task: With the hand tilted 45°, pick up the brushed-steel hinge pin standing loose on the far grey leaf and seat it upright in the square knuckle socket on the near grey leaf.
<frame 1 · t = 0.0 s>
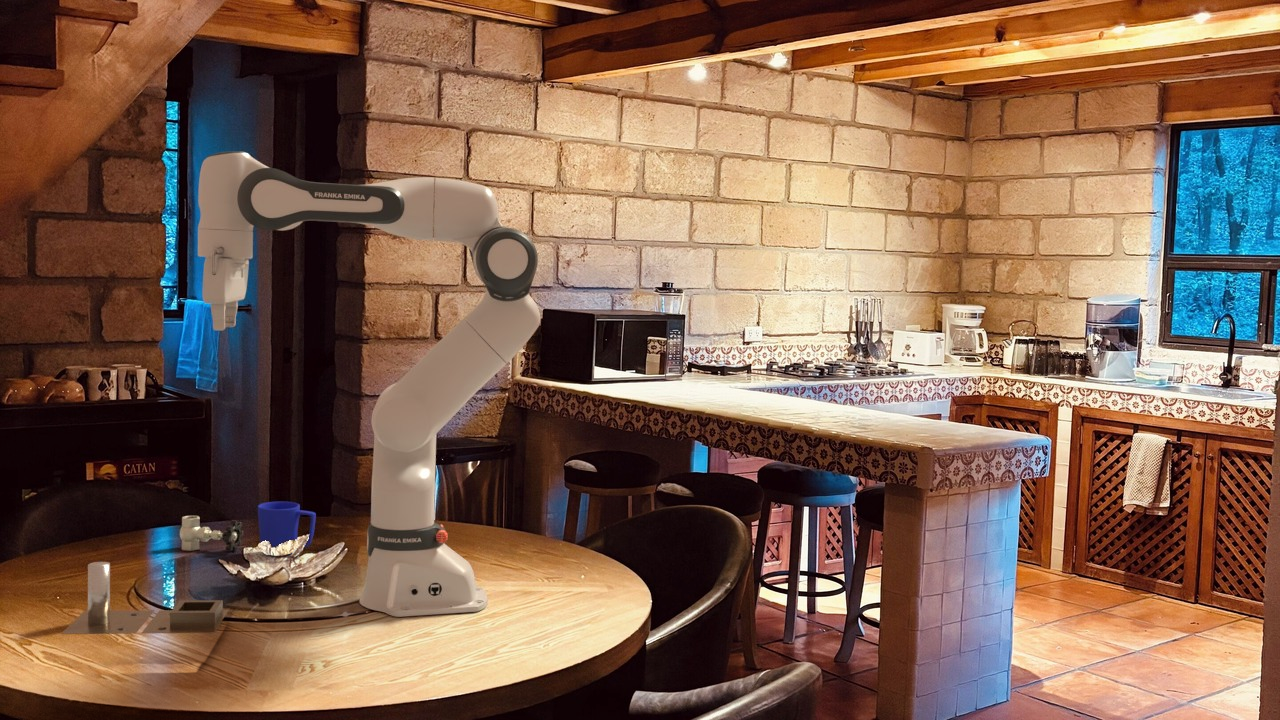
hand: (224, 328, 201), 48 cm above the table, tool pointing down, fingers open, 8 cm apart
valve: (208, 551, 241), on the table
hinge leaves: (148, 628, 190), on the table
mug: (286, 555, 240), on the table
pin: (98, 621, 189), point 1 cm above the table, touching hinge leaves
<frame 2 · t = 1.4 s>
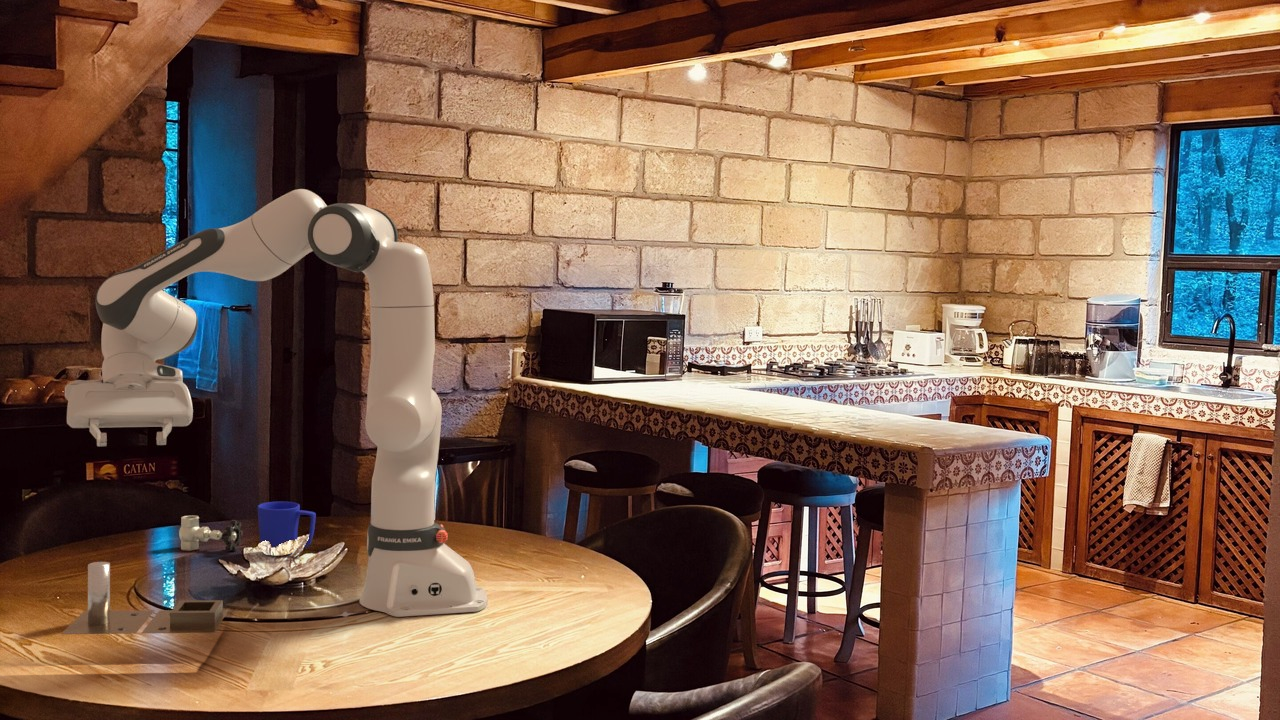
hand: (132, 443, 202), 28 cm above the table, tool tilted 45°, fingers open, 8 cm apart
nothing on the table moved.
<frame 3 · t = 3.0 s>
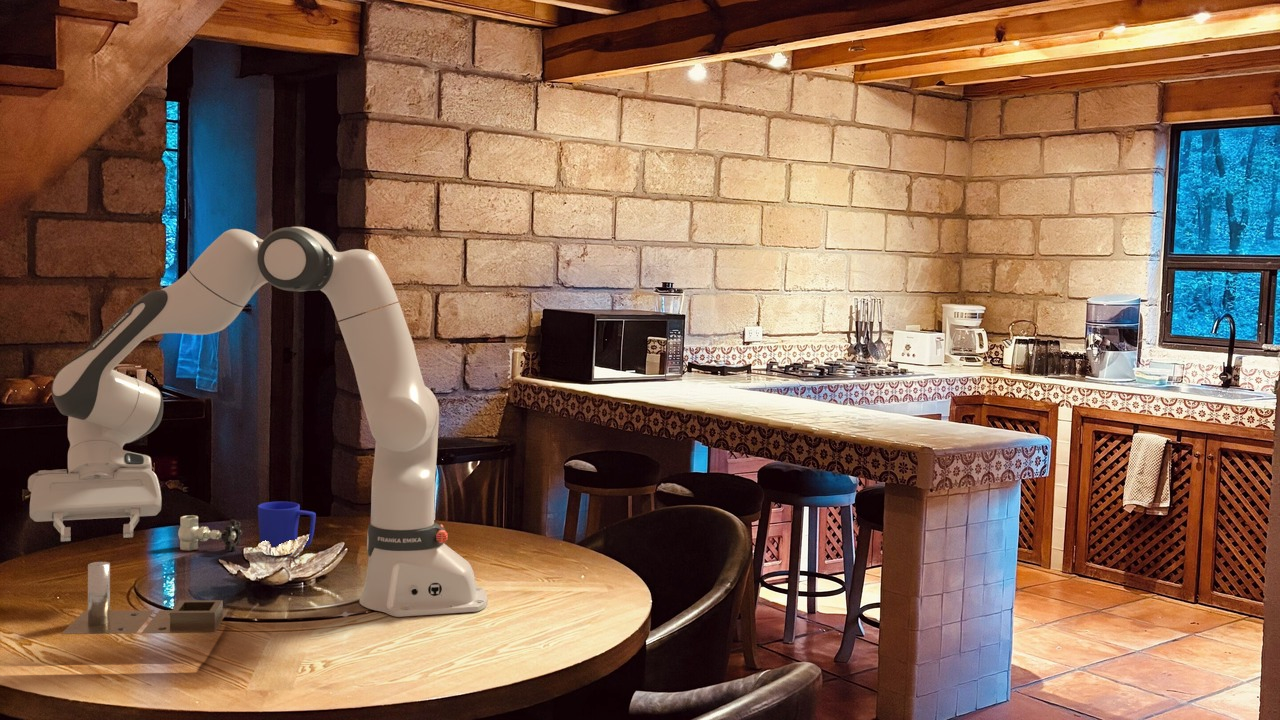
hand: (97, 537, 195), 13 cm above the table, tool tilted 45°, fingers open, 8 cm apart
nothing on the table moved.
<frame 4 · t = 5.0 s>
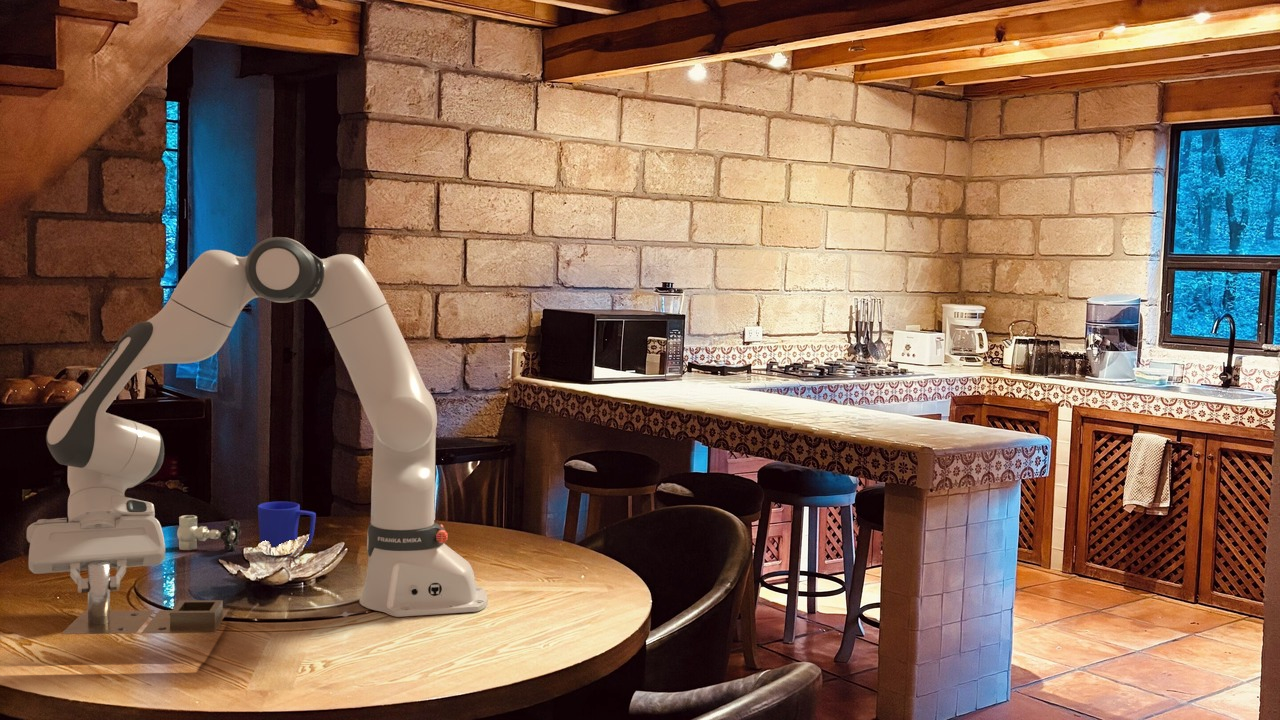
hand: (99, 590, 188), 7 cm above the table, tool tilted 45°, fingers closed on pin, 3 cm apart
pin: (98, 621, 189), point 1 cm above the table, touching gripper, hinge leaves
everything else where it was.
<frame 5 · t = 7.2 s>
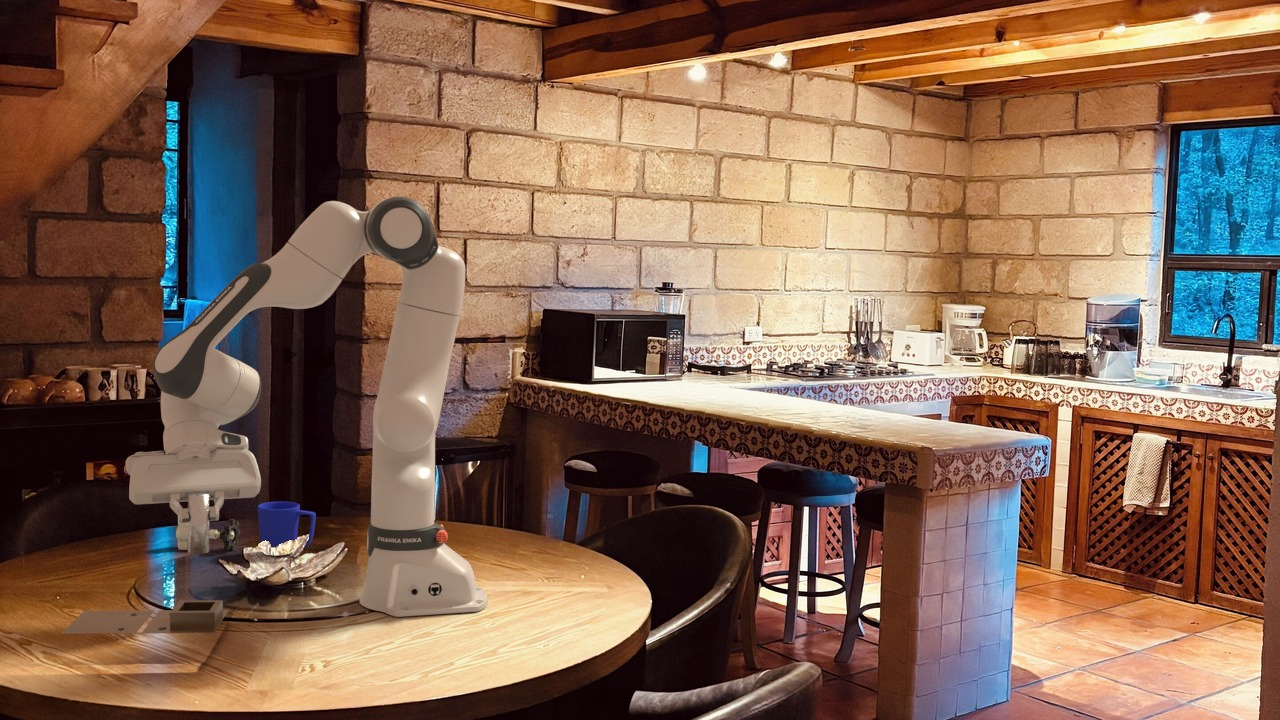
hand: (199, 519, 189), 18 cm above the table, tool tilted 45°, fingers closed on pin, 3 cm apart
pin: (198, 551, 190), point 13 cm above the table, touching gripper
when the fingers open (8 cm above the table, at t = 9.9 s): pin drops 2 cm, resting on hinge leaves.
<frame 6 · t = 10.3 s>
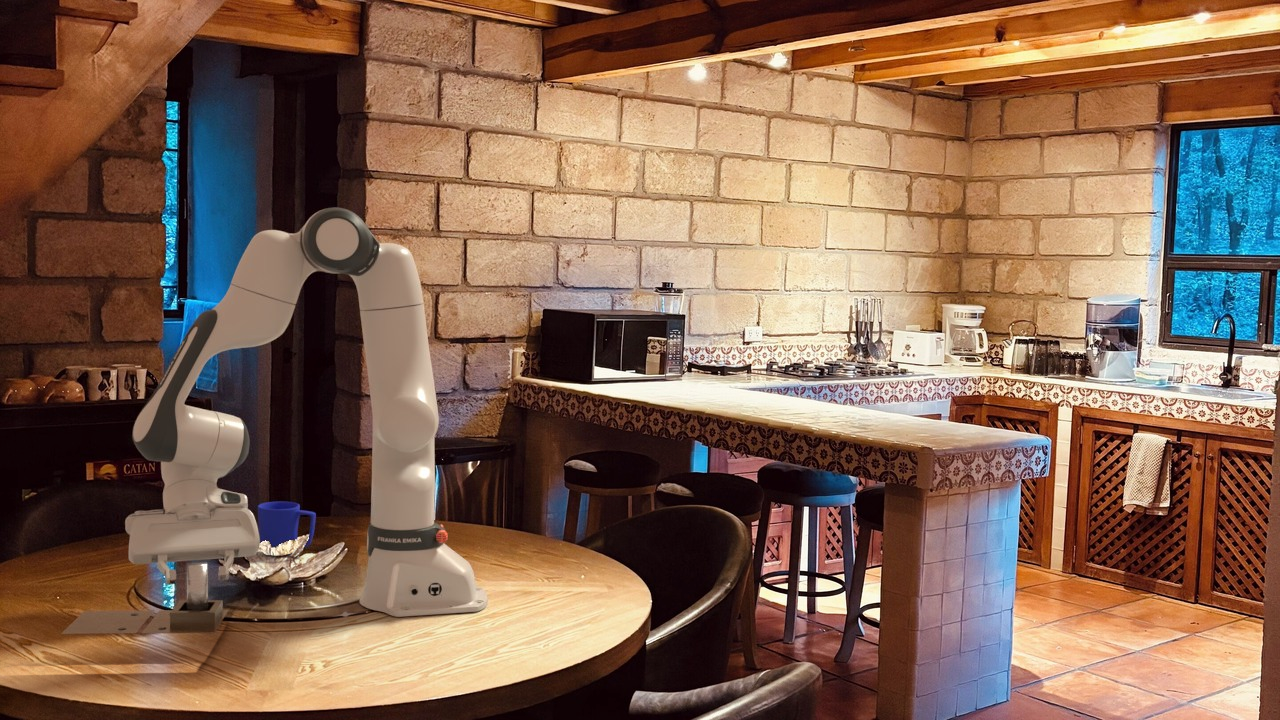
hand: (197, 580, 190), 8 cm above the table, tool tilted 45°, fingers open, 7 cm apart
pin: (197, 620, 191), point 1 cm above the table, touching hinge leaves
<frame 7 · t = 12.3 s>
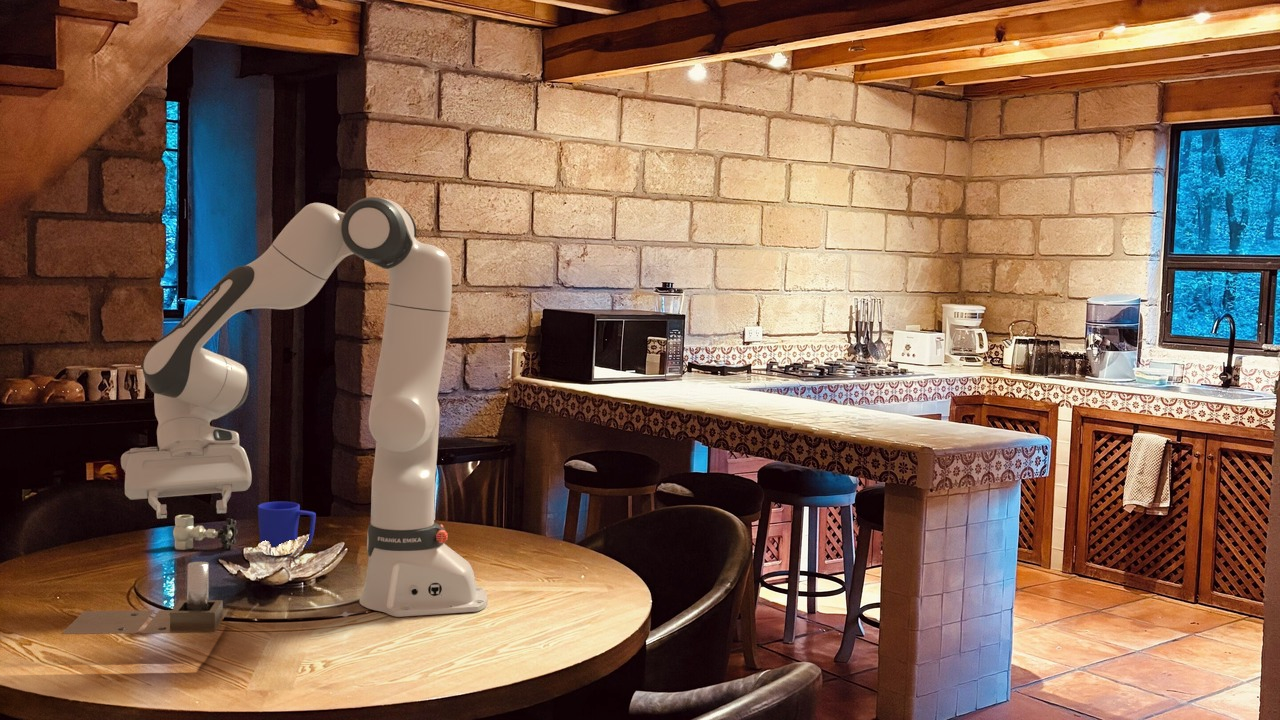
hand: (192, 514, 197), 17 cm above the table, tool tilted 45°, fingers open, 8 cm apart
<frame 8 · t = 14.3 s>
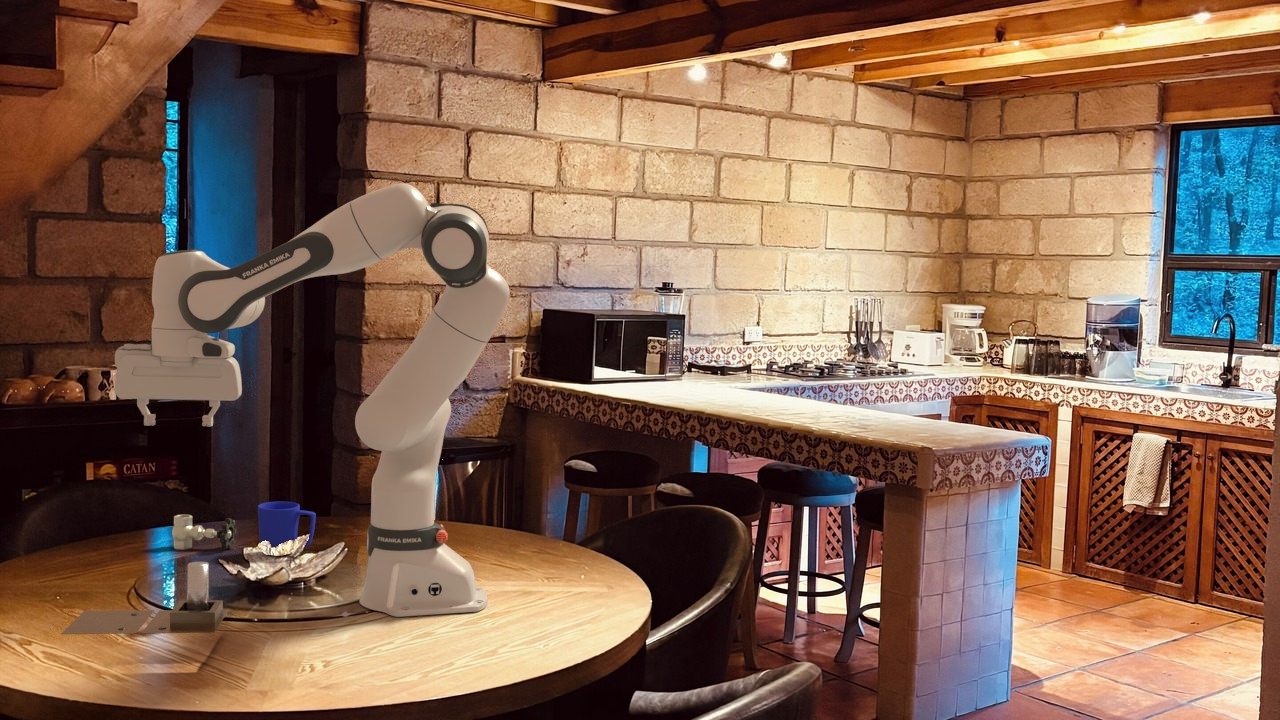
hand: (178, 425, 201), 31 cm above the table, tool pointing down, fingers open, 8 cm apart
at the end: pin 0.1 cm from the target spot on the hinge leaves, point 1.2 cm above the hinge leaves's base; pin tilted 0°; the gripper is holding nothing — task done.
